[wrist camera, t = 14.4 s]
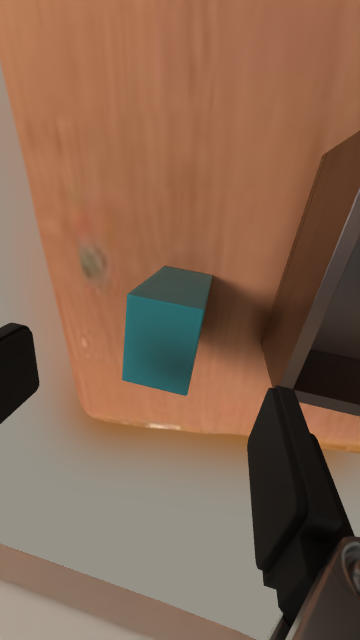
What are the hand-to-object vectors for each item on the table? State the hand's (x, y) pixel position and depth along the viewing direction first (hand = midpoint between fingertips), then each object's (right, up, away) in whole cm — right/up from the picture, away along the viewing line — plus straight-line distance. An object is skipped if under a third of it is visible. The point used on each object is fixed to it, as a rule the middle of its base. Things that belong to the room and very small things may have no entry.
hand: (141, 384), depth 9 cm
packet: (+2, +4, +11) cm, 12 cm away
